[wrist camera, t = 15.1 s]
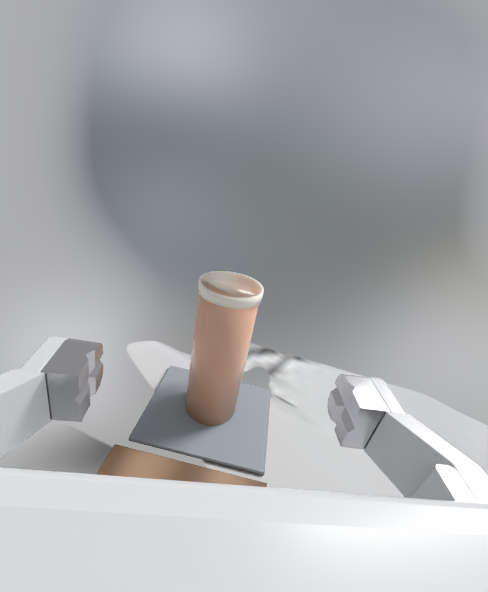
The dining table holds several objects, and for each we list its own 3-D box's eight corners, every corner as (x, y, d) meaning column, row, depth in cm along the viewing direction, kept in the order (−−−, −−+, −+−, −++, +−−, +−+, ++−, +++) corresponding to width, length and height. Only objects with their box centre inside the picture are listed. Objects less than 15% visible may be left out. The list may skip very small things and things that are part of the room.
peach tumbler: (237, 429, 34) (267, 303, 27) (179, 423, 33) (195, 293, 27) (236, 376, 42) (259, 268, 35) (189, 370, 41) (204, 259, 35)
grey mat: (128, 440, 31) (128, 437, 31) (170, 367, 42) (170, 365, 42) (263, 474, 30) (264, 472, 30) (270, 392, 41) (270, 390, 41)
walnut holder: (-21, 711, 16) (-35, 687, 14) (114, 470, 28) (114, 444, 26) (233, 788, 15) (247, 771, 14) (258, 508, 27) (266, 483, 26)
